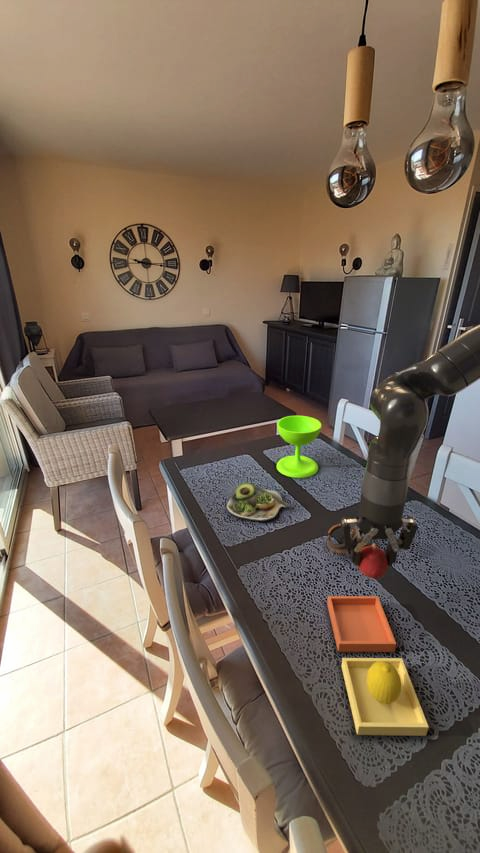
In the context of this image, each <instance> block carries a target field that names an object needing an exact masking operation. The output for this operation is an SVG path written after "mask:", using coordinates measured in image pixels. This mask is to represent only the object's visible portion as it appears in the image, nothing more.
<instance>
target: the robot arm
mask: <svg viewBox="0 0 480 853" xmlns="http://www.w3.org/2000/svg"><path fill="white" fill-rule="evenodd" d="M479 380H480V324H477V325H475V326H474V327H472V328H470V329H467V330H466V331H464V332H463V333H461V334H460V335H458V336H457V337H456V338H454V339H452V340H451V341H450V342H448V343H447V344H445V345H444V346H442V347H441V348H440V349H438V350H436V352H434V353H433V354H431V355H430V356H429V357H428V358H426V359H424V360H422V361H419V362H416V363H415V364H412V365H410V366H408V367H406V368H404V369H402V370H399V371H398V372H395V373H394V374H392V375H389V376H388V377H387V378H385V379H384V380H383V381H381V382H380V383H379V384H377V386H376V387H375V388H374V389H373V391H372V393H371V395H370V398H369V406H370V410H371V411H372V412H373V414H374V415H375V416H376V418H377V419H378V420H379V432H378V434H377V435H376V436H373V437H372V439H371V441H370V443H369V446H368V450H367V456H366V457H367V458H366V463H365V464H366V466H365V470H364V473H363V477H362V483H361V485H360V488H361V490H360V499H359V505H358V513H357V515H356V516H355V518H350V519H348V520H347V518H348V517H346V516H342V517H340V524H341V528H340V530H341V539H342V540H341V541H342V544H344V546H345V549H347V550H348V551H350V554H349V557H350V560H351V563H352V564H354V566H356V567H358V566H359V563H360V556H361V550H362V548H363V546H364V545H365V546H368V544H369V543H370V541H371V540H373V541H375V540H384V541H385V540H387V541H388V543H387V544H386V550H385V555H386V557H387V560H388V566H387V567H392V566H393V564H395V563H396V562H397V557H398V552H400V550H402V549H403V550H404V551H408V550H409V549H410V548H411V546H412V543H413V540H414V538H415V536H416V534H417V531H418V529H419V526H418V524H417V522H416V521H415V519H414V518H413V517H412V516H408V517H406V518H403V515H404V510H405V507H406V500H407V495H408V490H409V481H410V480H409V477H410V472H411V466H412V460H413V454H414V452H415V450H416V449H417V447H418V446H419V443H420V441H421V439H422V437H423V435H424V433H425V430H426V428H427V425H428V421H429V406H428V403H427V400H428V399H429V398H432V397H435V396H444V397H452V396H454V395H457V394H459V393H460V392H463V391H464V390H465V389H467V388H468V387H470V386H472V385H473V384H474V383H476V382H478V381H479ZM356 526H357V529H356V530H357V531H356V535H355V536H354V537H353V539H351V534H350V532H353V529H354V528H355V527H356ZM400 529H401V531H400V534H399V536H398V538H396V536H395V533H397V532H398V531H399V530H400Z"/></svg>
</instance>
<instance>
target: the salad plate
mask: <svg viewBox="0 0 480 853" xmlns="http://www.w3.org/2000/svg"><path fill="white" fill-rule="evenodd" d="M289 507H290V503H288V502H287V501H284V500H283V498H282V496H281V494H280V493H279V492H277V491H276V490H271V489H266V488H261V487H258V486H257V485H256V484H253V483H250V482H243V483H241V484H239V485H238V486H236V488H235V490H234V491H233V494H232V495H231V497H230V499H229V500H228V502H227V504H226V505H225V509H226V511H227V513H229V514H230V515H231V516H232V517H235V518H237V519H243V520H246V521H247V520H248V521H258V522H259V521H260V522H265V521H270V520H272V519H275V517H276V516H277V515H278V513H279V511H280V510H281V509H282V508H289Z"/></svg>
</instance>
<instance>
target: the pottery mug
mask: <svg viewBox="0 0 480 853" xmlns="http://www.w3.org/2000/svg"><path fill="white" fill-rule="evenodd" d="M346 518H347V520H348V519H351V518H350V517H346ZM338 529H341V523H337V524H335V525H333V526H331V527H330V529H329V530H328V531H327V537H326V546H327V548H328V549H329V550H330V551H331V552H332V553H333V554H345V555H347V556H350V554H349V550H347V549H345V546H344V543H340V544H336V543H333V542H332V540H331V536H332V534H333V533H334V532H335V531H336V530H338ZM356 531H357V529H356V528H355V527H354V529H353V532H350V534H351V539H353V537H354V536H355V535H356ZM364 547H366V545H364V546H363V548H364ZM363 548H362V549H363ZM362 549H361V550H362Z"/></svg>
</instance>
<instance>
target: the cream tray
mask: <svg viewBox="0 0 480 853" xmlns="http://www.w3.org/2000/svg"><path fill="white" fill-rule="evenodd" d="M341 659H342V660H341V670H342V675H343V679H344V684H345V688H346V693H347V696H348V700H349V706H350V710H351V714H352V718H353V722H354V728H355V732H356V734H357V736H403V737H404V736H405V737H406V736H411V737H412V736H413V737H414V736H415V737H416V736H417V737H426V736H427V734H428V731H429V729H430V727H429V724H428V721H427V718H426V716H425V714H424V711H423V709H422V706H421V703H420V700H419V699H418V696H417V693H416V690H415V688H414V685H413V682H412V680H411V677H410V675H409V673H408V670H407V667H406V665H405V662H404V660H403V658H402V657H399V658H398V657H388V658H387V657H342V658H341ZM377 661H386V662H388V663H390V664H391V665H393V666H394V667H395V669H396V670H397V671H398V674H399V676H400V680H401V692H400V695H399V697H398V698H397V700H396V701H395V702H393V703H391V704H383V703H380V702H378V701H377V700H376V699H374V698H373V696H372V695H371V694H370V692H369V690H368V686H367V674H368V670H369V669H370V667H371V666H372V664H374V663H375V662H377Z"/></svg>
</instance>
